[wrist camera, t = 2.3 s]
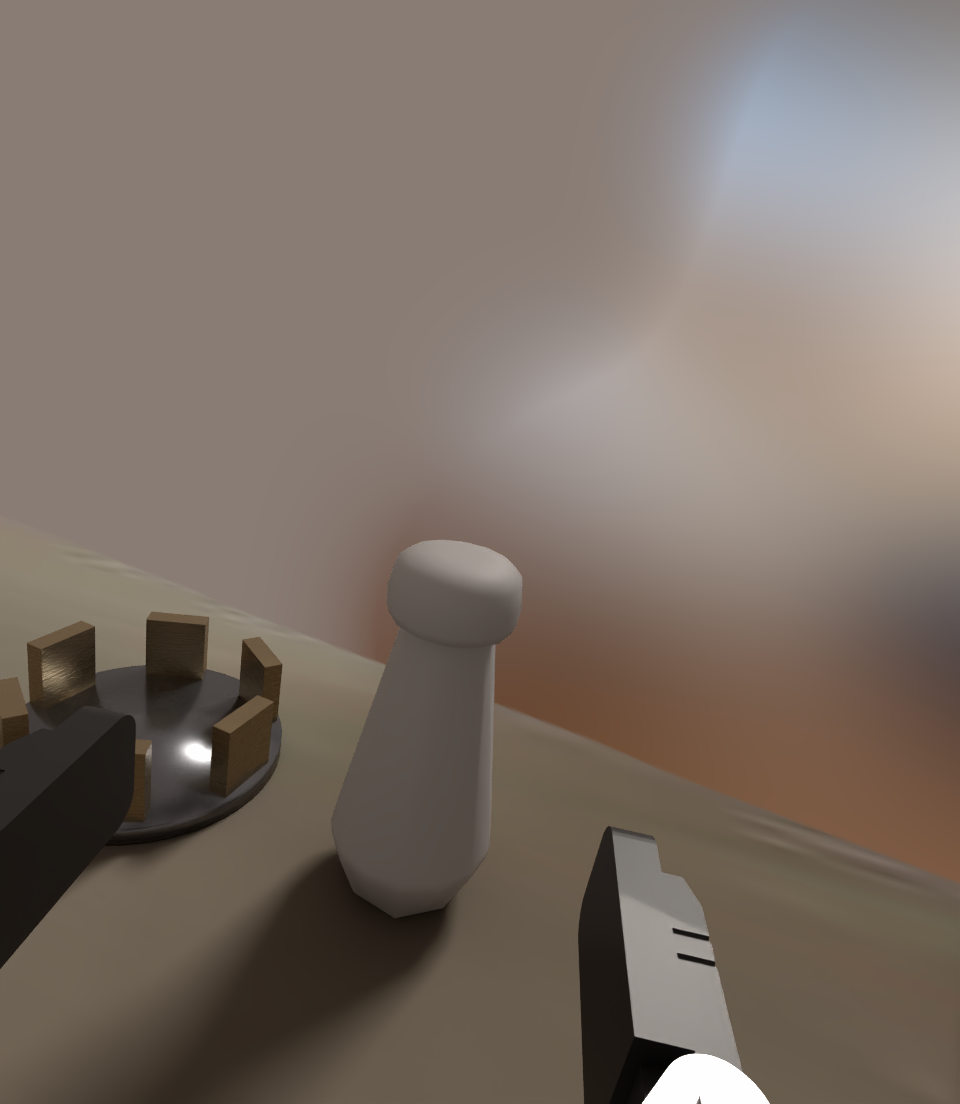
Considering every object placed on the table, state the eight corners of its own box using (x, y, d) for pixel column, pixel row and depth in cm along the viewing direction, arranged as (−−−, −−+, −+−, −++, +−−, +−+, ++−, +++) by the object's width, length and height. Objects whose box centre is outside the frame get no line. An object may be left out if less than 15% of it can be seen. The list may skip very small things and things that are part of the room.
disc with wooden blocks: (328, 731, 34) (336, 662, 32) (146, 891, 24) (147, 801, 23) (148, 655, 37) (149, 589, 36) (-78, 769, 27) (-88, 684, 26)
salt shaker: (425, 971, 23) (500, 615, 19) (291, 883, 25) (329, 547, 21) (504, 863, 28) (579, 561, 24) (386, 797, 30) (433, 510, 26)
